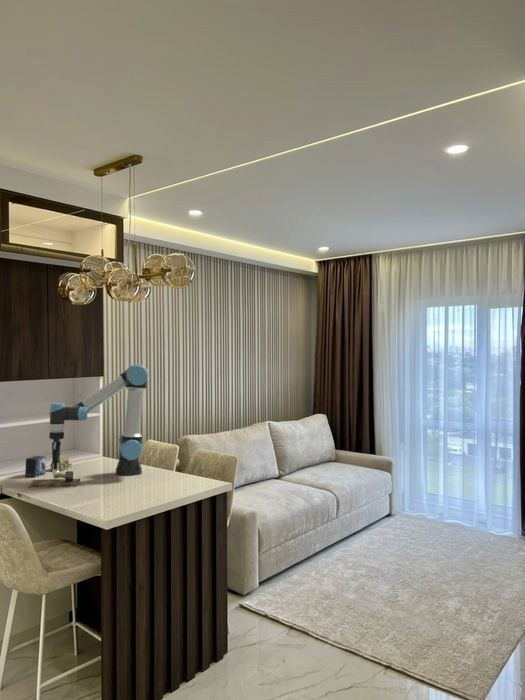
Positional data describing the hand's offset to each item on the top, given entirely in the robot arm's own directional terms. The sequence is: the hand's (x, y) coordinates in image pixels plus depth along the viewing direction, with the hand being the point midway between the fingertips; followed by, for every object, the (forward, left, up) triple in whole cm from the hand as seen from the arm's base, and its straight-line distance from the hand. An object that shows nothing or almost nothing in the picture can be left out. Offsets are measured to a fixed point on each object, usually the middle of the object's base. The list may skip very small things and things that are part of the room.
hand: (55, 474), depth 293 cm
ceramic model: (+3, -35, -4) cm, 35 cm away
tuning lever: (-5, +6, -2) cm, 8 cm away
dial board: (-1, +9, -4) cm, 9 cm away
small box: (+14, -17, -4) cm, 22 cm away
